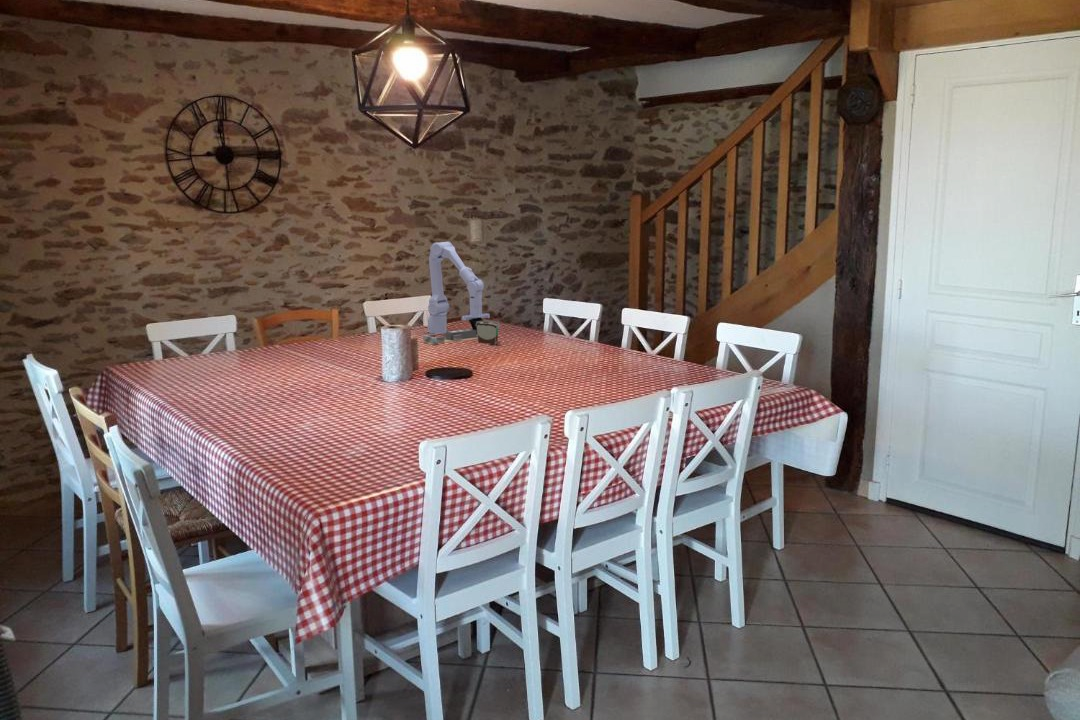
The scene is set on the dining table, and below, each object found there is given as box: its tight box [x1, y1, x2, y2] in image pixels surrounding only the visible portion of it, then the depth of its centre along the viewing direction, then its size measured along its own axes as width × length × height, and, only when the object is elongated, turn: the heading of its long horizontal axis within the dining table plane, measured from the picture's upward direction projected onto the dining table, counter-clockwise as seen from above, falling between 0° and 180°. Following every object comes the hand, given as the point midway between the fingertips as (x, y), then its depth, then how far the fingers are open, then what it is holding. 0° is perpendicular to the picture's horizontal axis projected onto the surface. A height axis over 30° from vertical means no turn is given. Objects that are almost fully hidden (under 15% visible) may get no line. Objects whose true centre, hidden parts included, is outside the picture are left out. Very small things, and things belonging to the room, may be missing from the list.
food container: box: [476, 320, 501, 347], centre depth 380 cm, size 12×6×10 cm, turn 58°
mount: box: [420, 333, 478, 346], centre depth 388 cm, size 10×33×3 cm, turn 129°
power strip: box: [446, 328, 476, 340], centre depth 389 cm, size 4×14×4 cm, turn 129°
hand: (476, 334), depth 394 cm, fingers closed
